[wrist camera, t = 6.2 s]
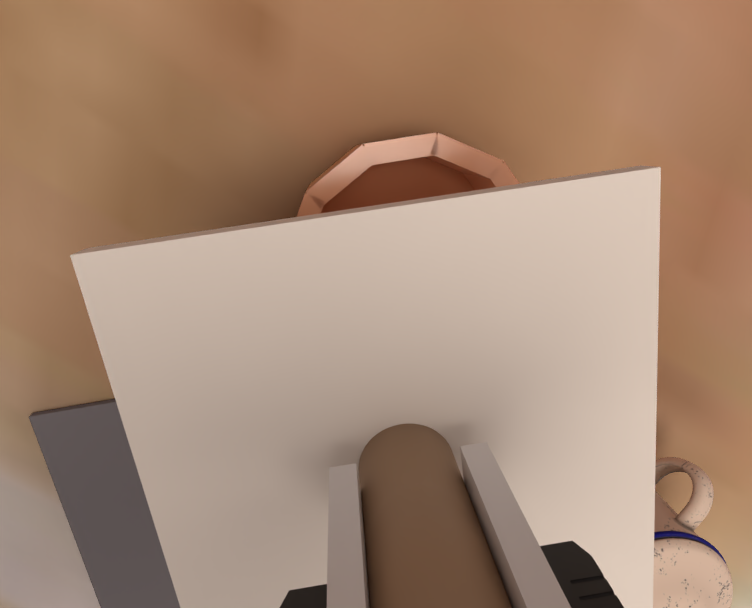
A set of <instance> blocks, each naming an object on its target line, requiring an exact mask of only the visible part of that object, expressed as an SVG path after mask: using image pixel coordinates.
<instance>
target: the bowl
mask: <svg viewBox="0 0 752 608" xmlns="http://www.w3.org/2000/svg"><path fill="white" fill-rule="evenodd" d="M515 184H520V183H519V182H518V180H517V179H516V177H515V176H514V175H513V173H512V172H511V170H510V169H509V167H508V166H507V164H506V163H505V161H503V160H501V159H499V158H496V157H494V156H492V155H489V154H487V153H485V152H482V151H480V150H478V149H475V148H473V147H471V146H468V145H466V144H464V143H461V142H459V141H457V140H454V139H452V138H450V137H447V136H445V135H443V134H440V133H429V134H422V135H416V136H409V137H403V138H397V139H390V140H384V141H377V142H371V143H364V144H358V145H356V146H355V147H353V148H352V149H351V150H350V151H349V152H347V153H346V154H345V155H344V156H343V157H341V158H340V159H339V160H338V161H337V162H335V163H334V164H333V165H332V166H331V167H329V168H328V169H327V170H326V171H325V172H324V173H322V174H321V175H320V176H319V177H318V178H316V179H315V180H314V181H313V182H312V183H310V185H309V187H308V188H307V190H306V192H305V194H304V197H303V200H302V203H301V206H300V208H299V211H298V214H297V217H300V216H306V215H313V214H320V213H327V212H333V211H340V210H347V209H353V208H360V207H367V206H374V205H380V204H387V203H394V202H400V201H407V200H414V199H421V198H427V197H434V196H441V195H447V194H454V193H461V192H468V191H474V190H481V189H488V188H494V187H501V186H508V185H515Z"/></svg>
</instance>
